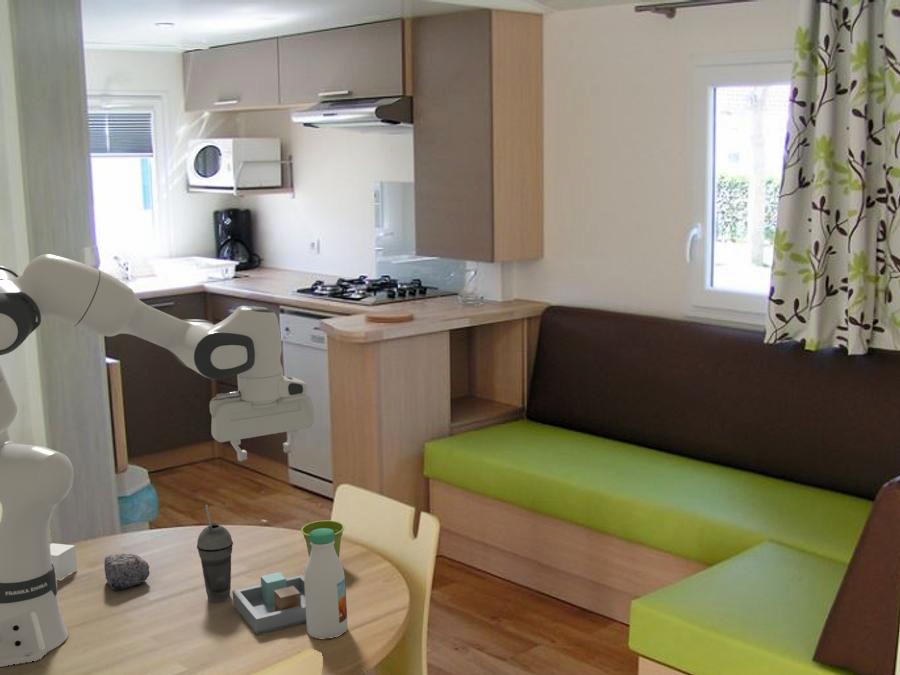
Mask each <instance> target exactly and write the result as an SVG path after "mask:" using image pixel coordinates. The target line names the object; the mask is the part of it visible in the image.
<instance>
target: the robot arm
mask: <svg viewBox="0 0 900 675" xmlns="http://www.w3.org/2000/svg"><path fill="white" fill-rule="evenodd" d="M43 318H49V319H53V320H57V321H59V322H61V323H63V324H66V325H67V326H71V327H73V328H76V329H78V330H82V331H84V332H87V333H90V334H94V335H98V336H99V335H100V336H103V337H107V338H109V337H110V338H111V337H115V336H118V335H121V334H126V335H131V336H135V337H137V338H140V339H143V340H144V341H148V342H149V343H151V344H152V343H153V344H155V345H157V346H159V347H162V348H164V349H166V350H167V351H169V352H170V353H171V355H173V356H174V358H175V359H176V360H177V361H178V362H179V363H180V364H181V365H182V366H184V367H185V368H188V369H190V370H193V371H194V372H196V373H197V374H199V375H201V376H202V377H204V378H208V379H210V380H223V379H224V380H225V379H227V378H230V377H233V376H237V390H236V391H230V392H226V393H218V394H216V395H215V396H214V397H212V398H211V400H210V401H209V404H208V406H209V413H210V415H211V425H210V426H211V427H210V430H211V431H210V432H211V436H212V438H213V439H214V440H215V441H216V442H219V443H225V442H226V443H227V442H230V444H231V445H232V447H233V449H234V450H235V452H236V455H237V461H239V462H243V461H248V452H247V450H246V449H241V447H240V446H239V445H241V444H242V443H241V442H242V441H241V440H243V439H251V438H256V437H261V436H262V437H263V436H267V435H268V436H269V435H276V434H279V433H285V432H286V433H287V434H288V435H289V436H288V438H287V440H286V441H285V442H283V443H282V447H283V449H282V451H283V453H285V454H290V453H293V452H294V444H295V441H296V439H297V437H298V434H299V433H298V430H305V429H309V428H310V429H311V428H312V427H313V425H314V424H315V411H314V405H313V401H312V398H311V397H310V395H308V392H309V386H308V383H306V381H305V382H304V381H303V380H302V379H299V378H296V377H293V376H286V375H284V369H283V366H282V362H281V356H282V350H283V349H282V335H281V330H280V329H281V328H280V323H279V320H278V317H277V314H276V313H275V312H274V311H273V310H271V309H269V308H267V307H262V306H257V305H241V306H237V307H236V309H235V310H234V312H232V313H231V314H229V316H227V317H226V318H225V319H223V320H221V321H219V322H218V323H213V322H211V321H209V320H206V319H197V318H196V319H192V318H191V319H182V318H179V317H176V316H173V315H171V314H169V313H166V312H163V311H161V310H159V309H157V308H155V307H152V306H151V305H148V304H146V303H145V302H143V301H142V300H140V299H139V298H138V296H137V295H136V294H135V292H134V290H133V289H132V288H131V287H130V286H128V285H127V284H125V283H124V282H123V281H120V280H119V279H118V278H116V277H114V276H112V275H110V274H109V273H107V272H105V271H103V270H101V269H98V268H96V267H93V266H91V265H88V264H85V263H83V262H80V261H76V260H74V259H70V258H67V257H63V256H60V255H55V254H51V253H45V254H41V255H38V256H36V257H35V258H33V259H32V260H31V261H30V262H29V263H28V264H27V265H26V266H25V268H24V270H23V273H21V274H20V275H18V274H17V273H16V272H15V271H14V270H13V269H10V268H9V267H7V266H5V265H0V356H4V355H8V354H9V353H11V352H13V351H15V350H16V349H17V348H18V347H20V346H21V345H22V344H24V343H23V342H25V340H26V339H27V338H28V337H29V336H30V334H32V333H33V332H34V331H35V330H36V329H37V328H38V327H39V326H40V325H41V322H42V319H43ZM17 413H18V405H17V403H16V401H15V399H14V395H13V394H12V390H11V389H10V385H9V383H8V381H7V379H6V376H5V374H4V371H3V369H2V367H1V365H0V505H1V508H2V509H1V510H2V511H1V512H2V513H1V519H0V668H1V667H8V665H9V666H14V665H13V664H15V665H21V664H27V663H32V661H34V662H37V660H38V661H39V659H40V660H42V659H43V658H44V657H45V656H46V654H47V653H49V652H51V651H52V650H54V649H57V648H58V647H59V646H61V645H62V644H63V643H64V642H65V641H66V640H67V638H68V636H69V631H68V629H67V626H66V625H65V621H64V619H63V617H62V616H63V615H62V613H61V610H60V605H59V602H58V598H57V595H58V581H57V579H56V571H55V568H54V566H53V564H52V563H51V552H50V544H51V540H50V539H51V538H50V529H51V528H50V526H51V520H52V516H53V514H54V511H55V509H56V507H57V506H58V505H59V504H60V503H61V502H62V501H63V500H64V499H65V498H66V497H67V496H68V495H69V493H70V491H71V489H72V487H73V484H74V478H75V472H74V467H73V463H72V461H71V459H70V458H69V456H67V455H66V454H64V453H63V452H60V451H57V450H55V449H52V448H49V447H46V446H44V445H33V444H24V443H17V442H14V440H12V438H11V437H10V435H9V433H8V428H9V427H11V426H12V423H13V422H14V420H15V419H16V416H17ZM44 655H45V656H44ZM43 656H44V657H43ZM42 657H43V658H42ZM26 662H27V663H26ZM20 663H21V664H20Z"/></svg>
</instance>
